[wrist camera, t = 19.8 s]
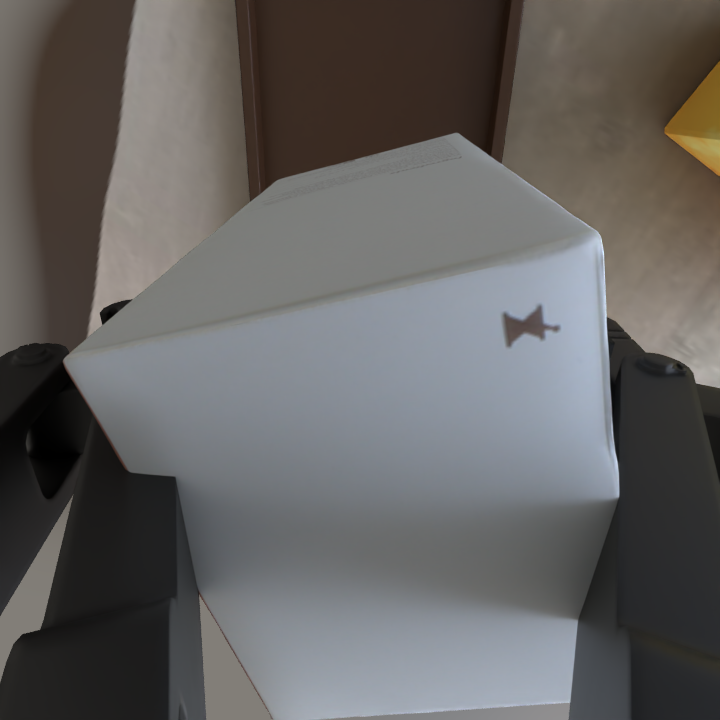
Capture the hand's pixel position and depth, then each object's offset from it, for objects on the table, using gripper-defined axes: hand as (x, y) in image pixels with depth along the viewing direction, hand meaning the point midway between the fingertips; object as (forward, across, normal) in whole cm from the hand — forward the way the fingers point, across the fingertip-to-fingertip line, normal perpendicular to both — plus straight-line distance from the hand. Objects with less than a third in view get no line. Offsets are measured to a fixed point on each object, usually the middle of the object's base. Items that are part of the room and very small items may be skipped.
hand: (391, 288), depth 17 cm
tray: (+18, -1, +3) cm, 18 cm away
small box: (+2, 0, 0) cm, 2 cm away
